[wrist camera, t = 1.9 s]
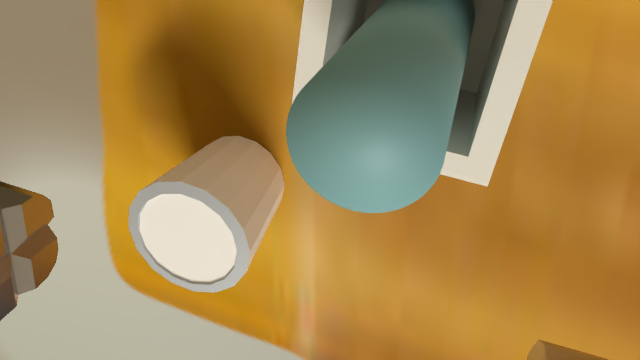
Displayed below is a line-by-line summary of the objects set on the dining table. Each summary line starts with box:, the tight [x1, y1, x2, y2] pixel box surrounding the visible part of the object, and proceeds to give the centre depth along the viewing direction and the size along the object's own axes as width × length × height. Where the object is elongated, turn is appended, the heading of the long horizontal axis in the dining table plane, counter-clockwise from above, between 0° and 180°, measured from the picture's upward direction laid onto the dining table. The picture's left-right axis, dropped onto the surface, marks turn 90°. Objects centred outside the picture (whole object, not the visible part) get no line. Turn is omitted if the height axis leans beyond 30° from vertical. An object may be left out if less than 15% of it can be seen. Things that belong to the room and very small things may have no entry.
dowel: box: [286, 0, 475, 213], centre depth 19 cm, size 4×4×14 cm
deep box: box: [292, 0, 553, 186], centre depth 23 cm, size 8×8×8 cm
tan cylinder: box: [129, 136, 284, 293], centre depth 31 cm, size 7×7×7 cm
